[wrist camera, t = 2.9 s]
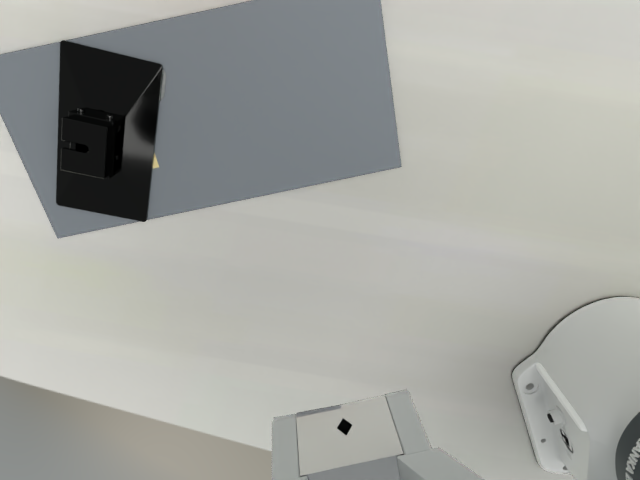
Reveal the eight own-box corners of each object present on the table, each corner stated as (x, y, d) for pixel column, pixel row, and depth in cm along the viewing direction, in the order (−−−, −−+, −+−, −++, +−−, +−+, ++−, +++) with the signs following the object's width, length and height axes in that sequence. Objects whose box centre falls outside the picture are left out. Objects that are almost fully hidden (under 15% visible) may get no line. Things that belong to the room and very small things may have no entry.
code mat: (400, 166, 37) (401, 166, 37) (59, 237, 38) (57, 238, 38) (376, -26, 32) (377, -27, 32) (-22, 59, 32) (-25, 59, 32)
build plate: (63, 39, 32) (28, 36, 28) (168, 65, 33) (150, 66, 29) (57, 203, 36) (26, 223, 32) (150, 221, 38) (133, 242, 33)
